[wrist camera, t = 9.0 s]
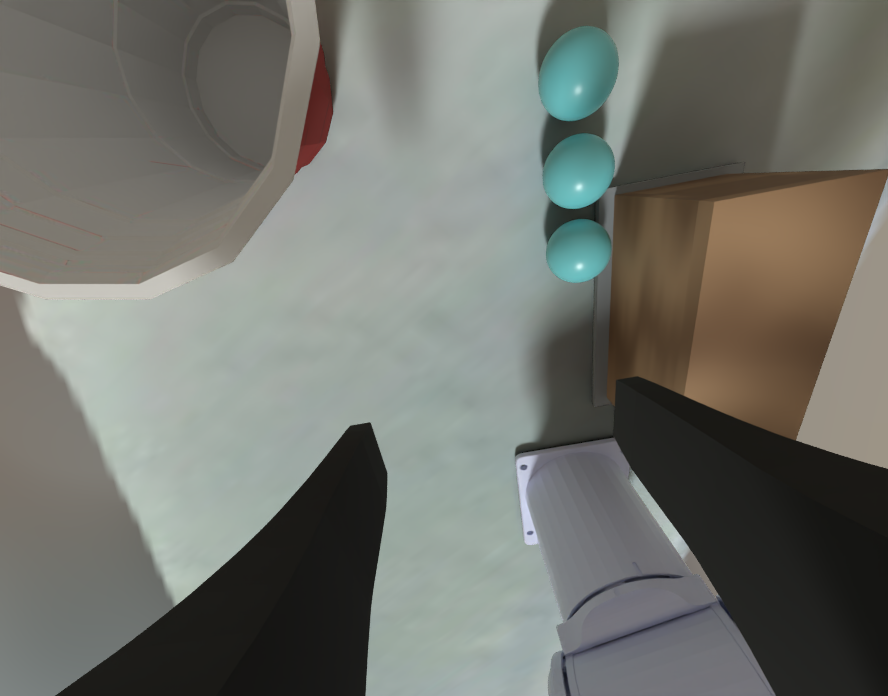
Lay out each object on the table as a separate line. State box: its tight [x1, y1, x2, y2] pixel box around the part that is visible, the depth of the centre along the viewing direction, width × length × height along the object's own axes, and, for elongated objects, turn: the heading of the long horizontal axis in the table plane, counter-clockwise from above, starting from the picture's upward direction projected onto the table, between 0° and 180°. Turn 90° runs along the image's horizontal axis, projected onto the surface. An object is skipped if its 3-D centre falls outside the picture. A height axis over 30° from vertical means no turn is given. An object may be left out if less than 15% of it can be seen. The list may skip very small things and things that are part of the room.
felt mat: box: [592, 162, 745, 407], centre depth 20 cm, size 13×7×1 cm, turn 10°
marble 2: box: [546, 219, 612, 283], centre depth 17 cm, size 3×3×3 cm
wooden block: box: [607, 169, 888, 441], centre depth 17 cm, size 12×6×6 cm, turn 10°
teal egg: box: [538, 26, 619, 121], centre depth 14 cm, size 3×3×3 cm
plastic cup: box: [0, 0, 333, 299], centre depth 10 cm, size 11×11×12 cm
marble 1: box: [543, 133, 615, 209], centre depth 15 cm, size 3×3×3 cm
